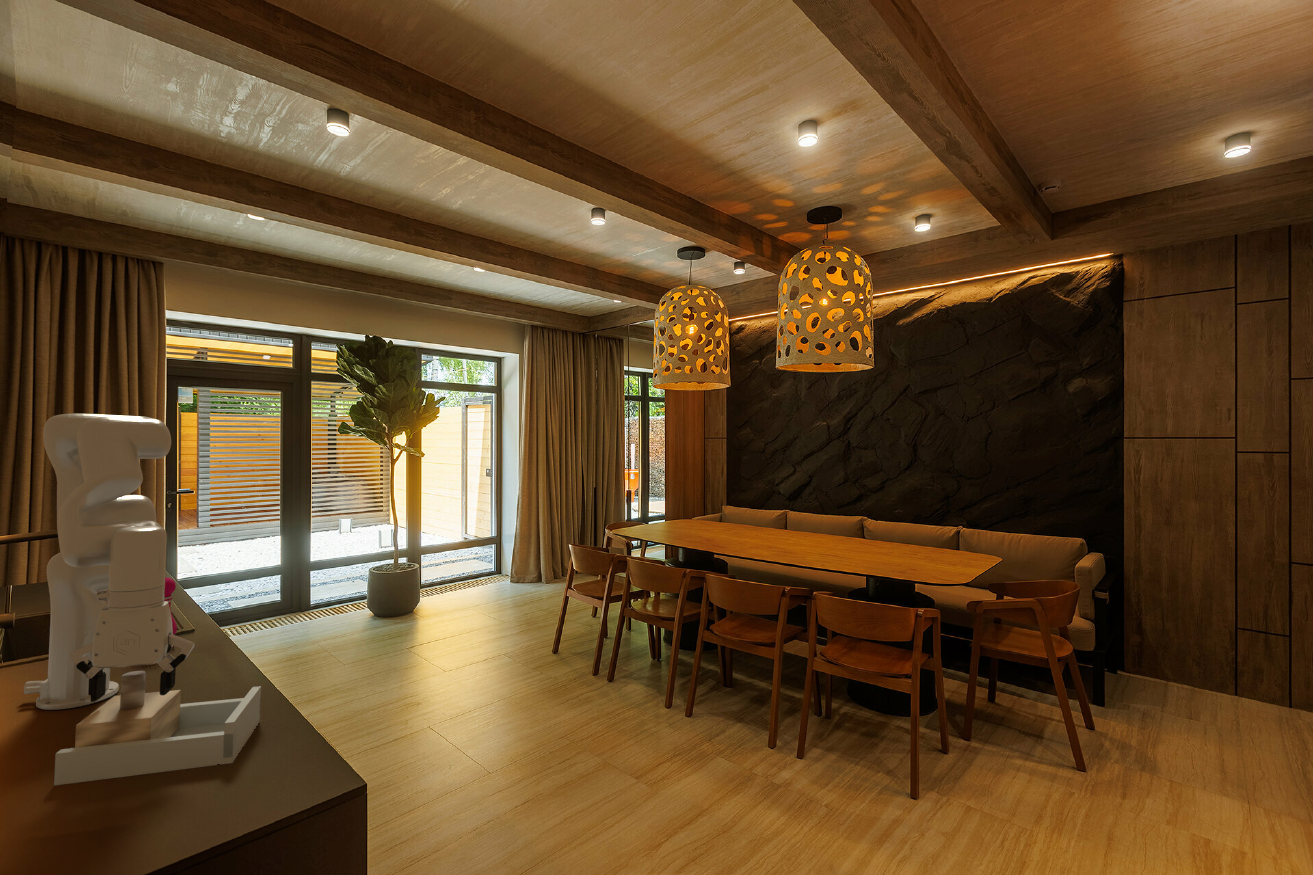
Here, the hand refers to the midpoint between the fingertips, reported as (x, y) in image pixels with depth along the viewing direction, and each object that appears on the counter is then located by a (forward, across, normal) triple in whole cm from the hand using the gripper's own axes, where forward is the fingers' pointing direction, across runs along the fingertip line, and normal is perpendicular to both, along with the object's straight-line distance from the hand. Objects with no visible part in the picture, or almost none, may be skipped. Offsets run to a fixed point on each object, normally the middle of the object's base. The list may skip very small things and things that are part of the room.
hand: (132, 695), depth 105 cm
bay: (+10, +6, 0) cm, 12 cm away
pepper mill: (+10, -19, +62) cm, 66 cm away
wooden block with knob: (+9, 0, 0) cm, 9 cm away
